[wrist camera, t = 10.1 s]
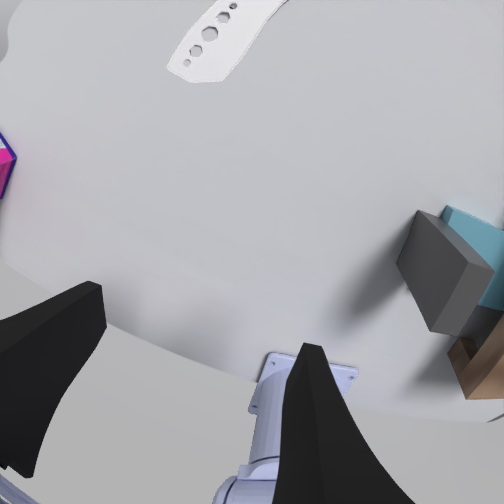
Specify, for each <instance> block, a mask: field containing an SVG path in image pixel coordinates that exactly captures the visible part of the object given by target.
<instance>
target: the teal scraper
mask: <svg viewBox="0 0 504 504" xmlns="http://www.w3.org/2000/svg"><path fill="white" fill-rule="evenodd" d="M396 264H397V266H398V268H399V270H400V272H401V274H402V276H403V278H404V279H405V281H406V283H407V285H408V287H409V289H410V291H411V293H412V295H413V297H414V299H415V301H416V303H417V305H418V307H419V309H420V312H421V314H422V316H423V318H424V320H425V322H426V324H427V327H428V329H429V331H430V332H436V333H441V334H447V335H453V336H458V334H459V333H460V331H461V330H462V328H463V327H464V325H465V324H466V322H467V320H468V319H469V317H470V316H471V314H472V312H473V311H474V309H475V307H476V306H477V305H480V306H484V307H488V308H491V309H495V310H499V311H503V312H504V231H503V230H501V229H499V228H497V227H495V226H493V225H491V224H489V223H487V222H485V221H483V220H481V219H478V218H476V217H474V216H472V215H469V214H467V213H465V212H463V211H460V210H458V209H456V208H453V207H451V206H449V205H447V206H446V209H445V212H444V214H443V217H442V218H439V217H436V216H434V215H431V214H428V213H426V212H423V211H420V210H418V211H417V214H416V217H415V219H414V222H413V224H412V227H411V229H410V232H409V234H408V237H407V239H406V242H405V244H404V247H403V249H402V251H401V254H400V256H399V258H398V260H397V263H396Z"/></svg>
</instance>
